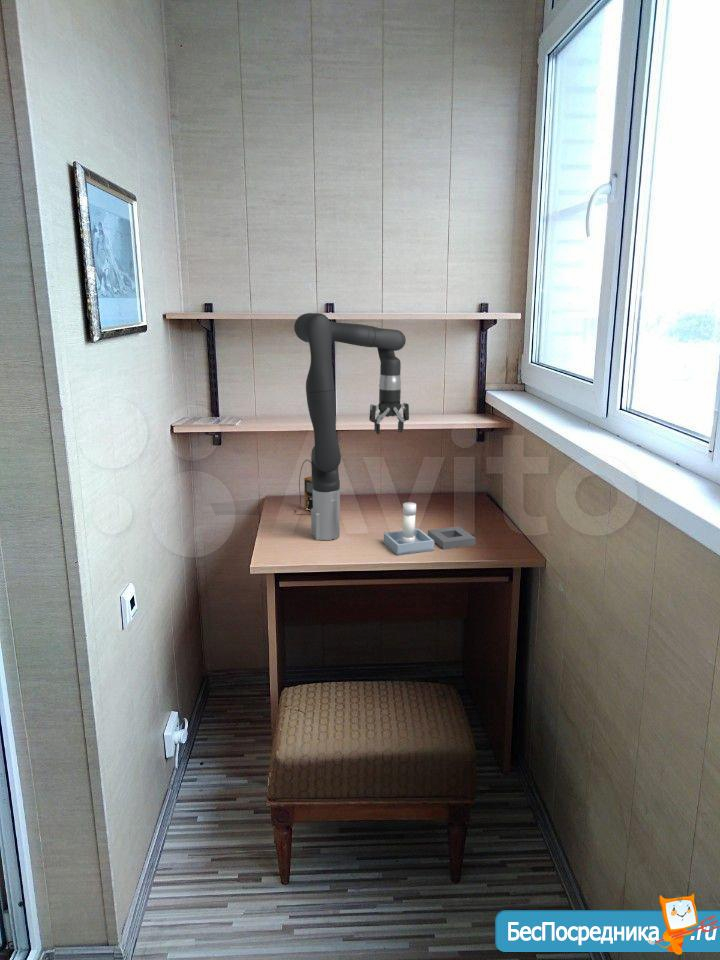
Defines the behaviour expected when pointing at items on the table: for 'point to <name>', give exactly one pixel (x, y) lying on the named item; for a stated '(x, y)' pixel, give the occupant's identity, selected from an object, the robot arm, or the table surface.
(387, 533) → the parts tray
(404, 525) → the fuse
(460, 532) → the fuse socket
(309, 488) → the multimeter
